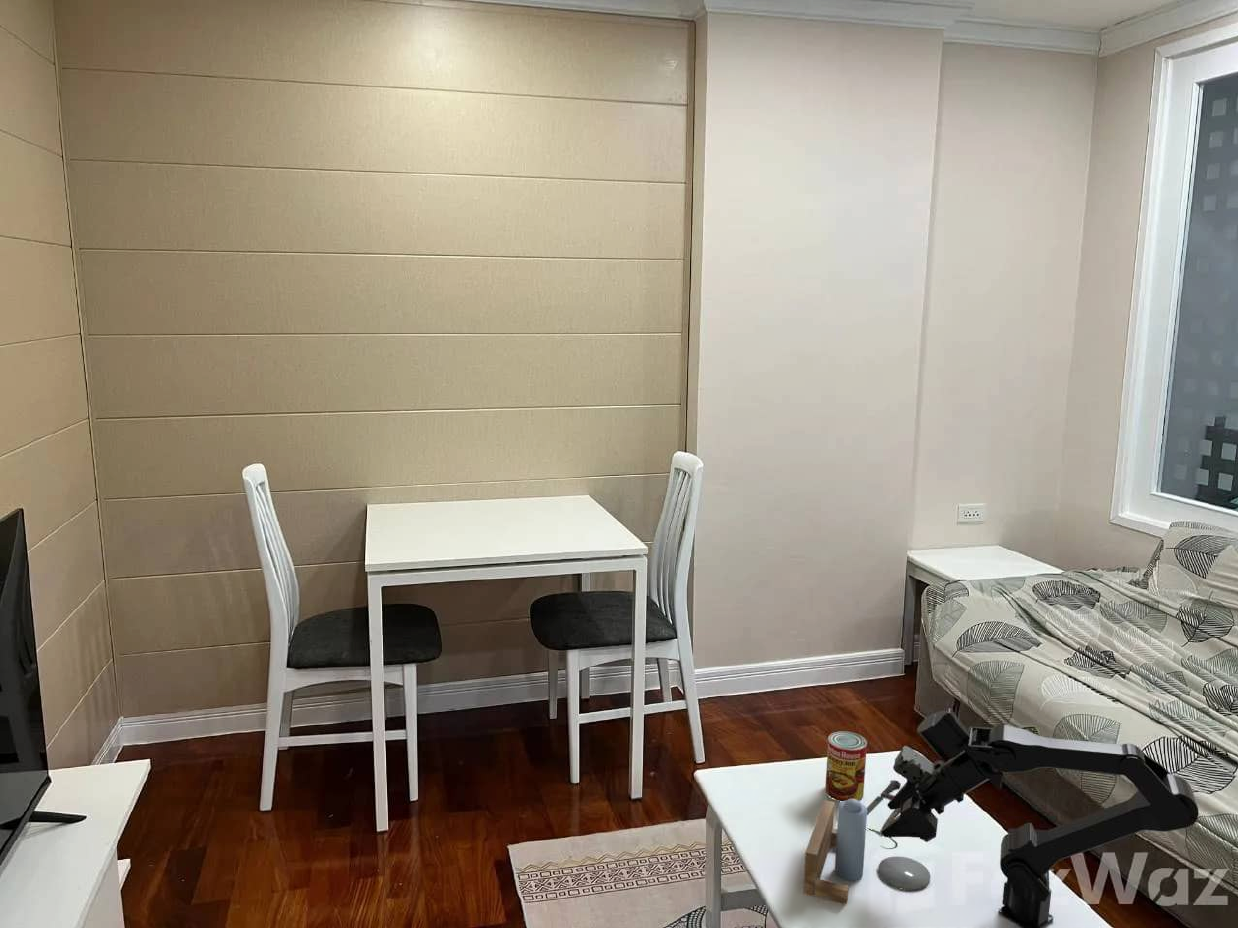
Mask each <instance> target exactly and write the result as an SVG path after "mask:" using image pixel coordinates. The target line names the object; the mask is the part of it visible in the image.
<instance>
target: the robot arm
mask: <svg viewBox="0 0 1238 928" xmlns="http://www.w3.org/2000/svg"><path fill="white" fill-rule="evenodd" d="M916 731H917V733H918V734H919V735H920V736H921V738H923V740H924V741H925V742H926V743H927V744H928V746H929V747H930V748H931V749H932V751H934V753H935V754H936V755H937V757H939V758H940V759H941V760H939V759H938V760H936V761H935V762H931V761H930V760H929V759H927V757H925V756H924V755H923V754H921V753H919V752H918V751H916V750H915V749H913V748H912V747H909V746H907V745H904V746H903V747H902V749H901V750H900V751H899V753H898V754H897V756H896V757H895V759H894V764H893V767H892V768H893V771H894V772H895V773H896V774H898V775H901V777H902V778H903V779H906V782H905V783H904V784H903V786H902V787H900V788H899V790H898V791H897V793H896V794H895V795H894V797H893V798H892V799H891V798H890V799H891V800H890V801H889V802H888V803H887V807H888V808H889V810H892V811H894V810H895V809H898V808H901V810H900V813H899V814H898V815H897V817H896V818H895V819H894V820H893V821H892V822H891V823H890V824H889V825H887V826H886V827H885V828H884V829H883V830H882V831H881V833H882V835H883V837H884V838H889V837H891V838H917V839H918V838H919V839H920V840H922V841H924V842H926V843H928V842H930V841H931V840H933V839H935V838H937V831H938V825H939V824H938V823H939V822H938V821H939V818H938V817H937V816H936V815H935V814H934V813H933V812H932V810H935V812H936V813H937V814H938V815H941V814H942V813H944V812H945V807H946V806H947V805H949V804H950V803H952V802H954V801H957V803H958V804H959V803H961V802H963V801H964V796H965V795H966V794H968V793H969V792H971V791H973V790H974V789H976V788H978V787H979V786H980V785H981V786H982V785H983V784H984V783H985V782H988V781H990V783H992V785H993V786H994V787H995V788H996V790H1001V789H1002V781H1003V777H1004V776H1005V773H1006V774H1007V773H1027V772H1031V771H1034V770H1037V769H1045V768H1048V769H1049V768H1050V769H1057V770H1058V769H1059V770H1066V771H1067V770H1069V771H1077V772H1088V773H1096V774H1097V773H1098V774H1106V775H1107V774H1108V775H1115V776H1117V775H1118V776H1124V777H1125V778H1127V780H1129V781H1130V782H1131V784H1133V786H1135V788H1136V789H1137V791H1136V792H1134V794H1133V795H1132V796H1131V797H1130V798H1129V799H1127V800H1124V801H1122V802H1120V803H1117V804H1114V805H1111V806H1108V807H1106V808H1103V809H1100V810H1098V811H1096V812H1093V813H1092V812H1091V813H1090V814H1087V815H1085V816H1082V817H1080V818H1077V819H1074V820H1071V821H1068V822H1067V823H1063V824H1061V825H1058V826H1055V827H1052V828H1050V829H1046V830H1045V829H1044V830H1043V829H1034V826H1033V824H1032V823H1031V822H1027V823H1024V824H1023V825H1021V826H1019V827H1016V828H1009V829H1008V833H1007V834H1005V835H1004V836H1003V837H1002V840H1001V843H1000V855H999V856H1000V860H999V862H1000V863H999V864H1000V867H999V868H1000V870H1001V872H1002V874H1003V875H1004V876H1005V878H1006V881H1005V882H1004V884H1003V891H1002V900H1001V901H1002V905H1003V906H1001V907H1000V908H998V913H999V914H1000V915H1002V916H1003V917H1005V918H1006V919H1008V920H1010V921H1012V922H1013V923H1015V924H1017V925H1018V926H1020V927H1021V928H1043V927H1044V926H1046V925H1048V924H1049V923H1051V922H1052V921H1054V915H1053V914H1051V913H1050V909H1051V898H1052V890H1053V889H1051V888H1050V870H1051V869H1052V868H1053V867H1054V866H1055V865H1056V864H1058V862H1060V861H1062V860H1064V859H1067V858H1070V857H1073V856H1075V855H1078V854H1080V853H1084V852H1087V851H1089V850H1092V849H1095V848H1097V847H1101V846H1102V845H1107V844H1109V843H1111V842H1114V841H1117V840H1119V839H1122V838H1125V837H1129V836H1131V835H1134V834H1137V833H1139V832H1144V831H1149V832H1150V831H1151V832H1152V831H1153V832H1161V833H1162V832H1164V833H1166V832H1172V831H1177V830H1178V831H1179V830H1183V829H1188V828H1191V827H1192V826H1194V825H1195V824H1196V823H1197V820H1198V817H1199V813H1200V812H1199V807H1198V804H1197V801H1196V800H1197V799H1196V798H1195V794H1194V791H1193V789H1192V787H1191V785H1190V783H1189V782H1187V781H1186V780H1185V779H1184V778H1183V777H1181V776H1178V775H1174V774H1173V773H1171V772H1170V771H1169V770H1168V769H1167V768H1165V767H1164V765H1162V764H1161V763H1160V762H1158V761H1156V760H1155V759H1154V758H1152V757H1150V756H1149V755H1147V754H1146V753H1145V752H1144V751H1143V750H1142V749H1141V748H1140V747H1139V746H1137V745H1135V744H1132V743H1123V744H1118V743H1106V742H1097V741H1086V740H1075V739H1063V738H1053V737H1045V736H1041V735H1038V734H1036V733H1033V732H1031V731H1029V730H1027V729H1025V728H1020V727H1015V726H1011V725H1007V724H999V725H997V724H996V725H995V726H994V727H988V726H987V727H984V726H972V725H971V726H969V727H968V729H967V727H966V726H965V725H964V724H963V723H962V722H961V720H959V718H958V717H957V715H956V713H955V712H954V711H953V710H952V708H949V707H948V708H947V709H946V710H938V711H937V712H932V713H931V714H929V715H928V716H927V717H926V718H924V719H923V720H922V721H921V722H920V724H919V725H918V726H917V729H916ZM982 742H983V743H985V745H982ZM942 759H943V760H942ZM947 760H948V761H947ZM944 761H946V762H944Z"/></svg>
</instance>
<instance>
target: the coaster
mask: <svg viewBox="0 0 1238 928" xmlns="http://www.w3.org/2000/svg"><path fill="white" fill-rule="evenodd" d="M877 870H879V871H878V874H880V875H879V876H880V877H882V878H883V879H882V878H881V879H882V880H883V881H884V880H885V881H886V882H885V881H884V882H885V883H887V884H888V885H890V886H892V885H893V886H892V887H894V886H895V887H894V888H896V887H897V889H899V888H902V889H901V890H903V889H905V891H919V890H920V891H921V890H922V889H925V888H927V887H928V886H929V884H930V881H931V873H930V871H929V870H928V868H927V867H926V866H925V865H924V864H922V863H921V862H919V861H917V860H915V859H912V858H909V857H906V856H889V857H886V858H883V859H882V860H881V861H880V862H879V864H878V868H877ZM927 885H928V886H927ZM926 886H927V887H926Z"/></svg>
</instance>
